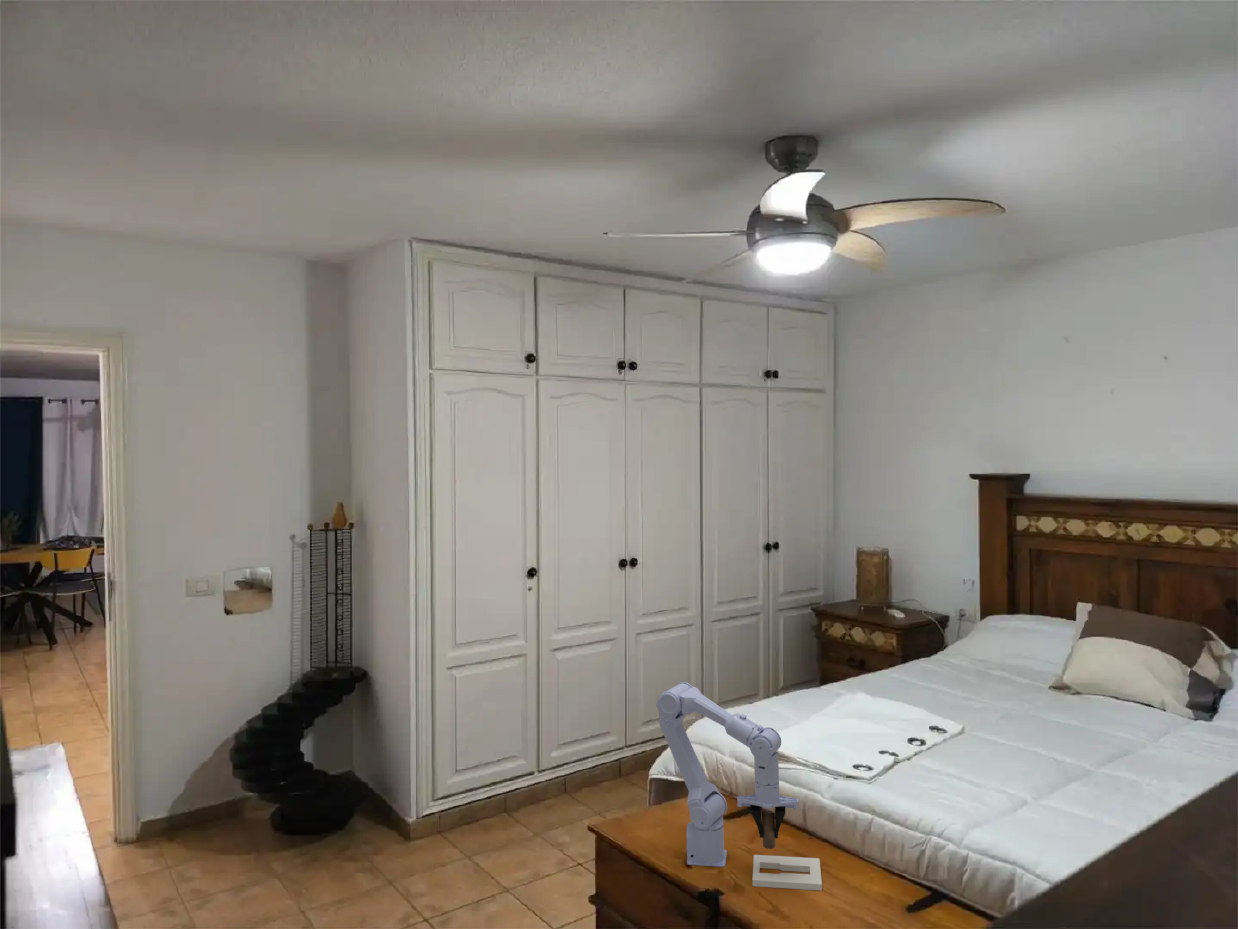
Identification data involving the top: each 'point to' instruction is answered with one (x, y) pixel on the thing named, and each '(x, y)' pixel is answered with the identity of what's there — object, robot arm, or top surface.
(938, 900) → the top surface
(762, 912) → the top surface
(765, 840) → the peg
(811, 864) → the keyhole plate
